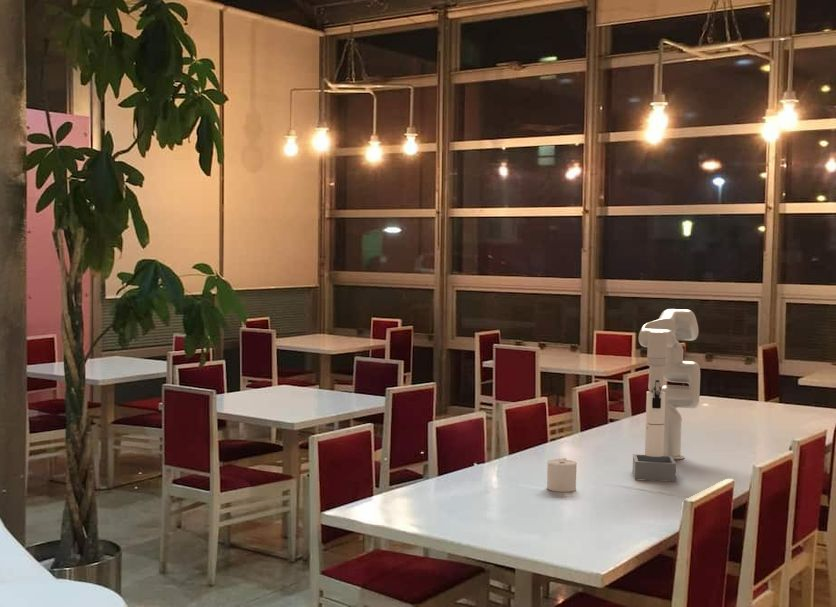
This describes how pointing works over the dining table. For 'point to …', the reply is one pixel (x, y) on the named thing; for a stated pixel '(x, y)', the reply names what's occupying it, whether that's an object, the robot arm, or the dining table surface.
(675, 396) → the robot arm
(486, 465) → the dining table surface
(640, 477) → the box
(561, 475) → the toilet tissue
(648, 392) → the cylindrical container
